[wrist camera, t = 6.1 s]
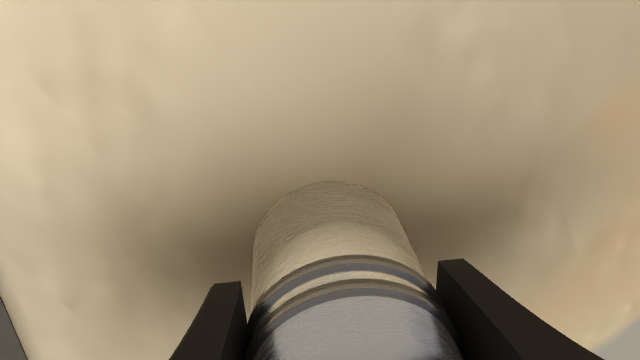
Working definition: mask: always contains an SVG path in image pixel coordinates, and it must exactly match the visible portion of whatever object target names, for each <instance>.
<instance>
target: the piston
mask: <svg viewBox="0 0 640 360" xmlns="http://www.w3.org/2000/svg"><path fill="white" fill-rule="evenodd" d="M245 360H464V355H463V349H462V345H461V342H460V339H459V337H458V335H457V333H456V331H455V329H454V327H453V324H452V322H451V320H450V318H449V317H448V314H447V312H446V310H445V307H444V305H443V303H442V301H441V299H440V297H439V295H438V293H437V292H436V290H435V289H434V287H433V286H432V285H431V283H430V282H429V281H427V279H426V277H425V275H424V273H423V271H422V268H421V266H420V264H419V262H418V260H417V257H416V255H415V253H414V251H413V249H412V247H411V244H410V242H409V240H408V238H407V236H406V234H405V231H404V229H403V227H402V225H401V223H400V220H399V218H398V216H397V214H396V213H395V211H394V210H393V208H392V207H391V206H390V205H389V204H388V203H387V202H386V200H385V199H383V198H382V197H381V196H379V195H378V194H377V193H375V192H373V191H371V190H370V189H367V188H365V187H362V186H360V185H356V184H352V183H346V182H321V183H315V184H311V185H307V186H304V187H302V188H299V189H297V190H295V191H293V192H291V193H289V194H287V195H286V196H284V197H283V198H281V199H280V200H279V201H278V202H276V203H275V204H274V205H273V206H272V207H271V208H270V209H269V210H268V212H267V213H266V214H265V216H264V217H263V219H262V220H261V222H260V224H259V226H258V228H257V231H256V234H255V238H254V245H253V269H252V295H251V315H250V318H249V321H248V324H247V328H246V334H245Z"/></svg>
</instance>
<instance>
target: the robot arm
mask: <svg viewBox="0 0 640 360" xmlns="http://www.w3.org/2000/svg"><path fill="white" fill-rule="evenodd" d="M436 292H437V293H438V295H439V297H440V299H441V301H442V303H443V305H444V307H445V310H446V312H447V314H448V317H449V318H450V320H451V322H452V324H453V327H454V329H455V331H456V333H457V335H458V337H459V339H460V342H461V345H462V349H463V355H464V360H604V359H602V358H600V357H599V356H597V355H595V354H594V353H592V352H590V351H589V350H587V349H585V348H584V347H582V346H580V345H579V344H577V343H576V342H574V341H572V340H571V339H569V338H568V337H566V336H565V335H563V334H562V333H560V332H559V331H557V330H556V329H555V328H553V327H552V326H550V325H549V324H547V323H546V322H544V321H543V320H541V319H540V318H539V317H537V316H536V315H534V314H533V313H532V312H530V311H529V310H528V309H526V308H525V307H524V306H522V305H521V304H520V303H518V302H517V301H516V300H514V299H513V298H512V297H511V296H509V295H508V294H507V293H505V292H504V291H503V290H502V289H500V288H499V287H498V286H497V285H495V284H494V283H493V282H492V281H490V280H489V279H488V278H487V277H485V276H484V275H483V274H482V273H480V272H479V271H478V270H477V269H475V268H474V267H473V266H472V265H470V264H469V263H468V262H467V261H465V260H464V259H454V260H444V261H438V269H437V284H436ZM246 328H247V320H246V313H245V307H244V300H243V293H242V287H241V281H237V282H228V283H218V284H214V285H213V286H212V287H211V288H210V290H209V292H208V294H207V296H206V298H205V300H204V302H203V304H202V306H201V308H200V310H199V312H198V313H197V315H196V317H195V319H194V320H193V322H192V324H191V326H190V327H189V329H188V331H187V332H186V334H185V335H184V337H183V339H182V340H181V342H180V344H179V345H178V347H177V348H176V350H175V351H174V353H173V355H172V356H171V357H170V359H169V360H245V334H246Z"/></svg>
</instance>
